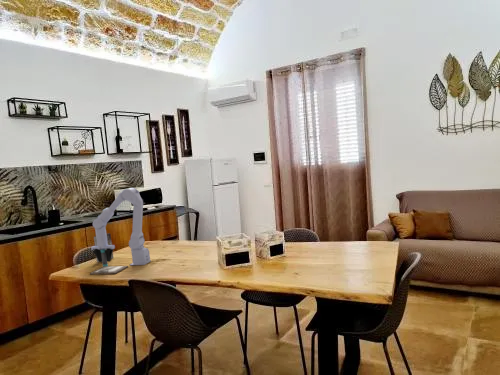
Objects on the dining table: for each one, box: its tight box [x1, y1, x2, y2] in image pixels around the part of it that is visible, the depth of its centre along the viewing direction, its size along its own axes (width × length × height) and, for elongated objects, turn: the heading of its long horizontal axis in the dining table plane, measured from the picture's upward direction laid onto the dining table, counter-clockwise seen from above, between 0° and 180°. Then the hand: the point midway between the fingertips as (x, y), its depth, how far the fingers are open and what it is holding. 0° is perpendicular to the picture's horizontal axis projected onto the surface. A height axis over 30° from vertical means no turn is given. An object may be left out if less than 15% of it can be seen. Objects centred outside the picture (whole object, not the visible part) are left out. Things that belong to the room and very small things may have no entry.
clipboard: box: [89, 265, 129, 275], centre depth 207 cm, size 16×12×2 cm
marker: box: [101, 249, 109, 267], centre depth 217 cm, size 3×3×10 cm
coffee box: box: [93, 232, 114, 263], centre depth 233 cm, size 9×6×16 cm
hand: (104, 261), depth 218 cm, fingers open, 5 cm apart
